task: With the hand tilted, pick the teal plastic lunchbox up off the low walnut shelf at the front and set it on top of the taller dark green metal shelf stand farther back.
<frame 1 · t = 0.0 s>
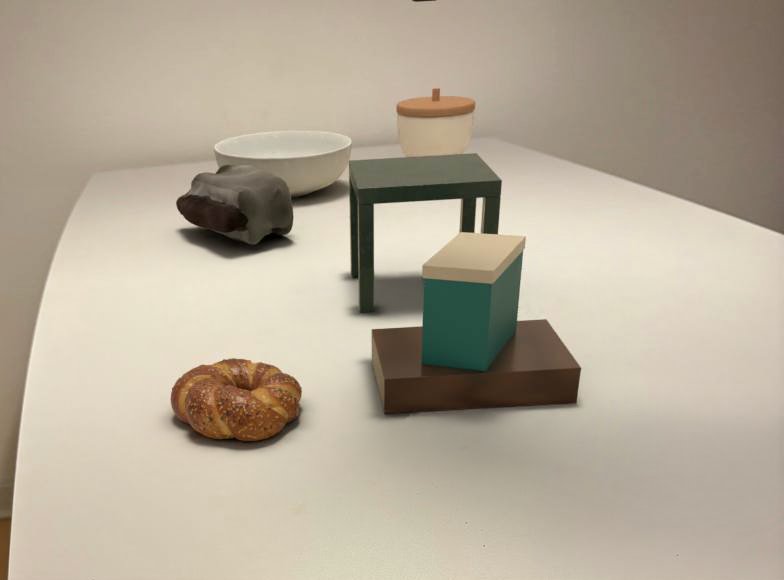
upper shelf: (418, 288, 105), on the table
lunchbox: (470, 347, 81), point 3 cm above the table, touching low shelf
lidded bowl: (433, 165, 157), on the table
serving bowl: (285, 193, 146), on the table
rock: (235, 239, 126), on the table
pretzel: (240, 419, 79), on the table
low shelf: (468, 380, 83), on the table
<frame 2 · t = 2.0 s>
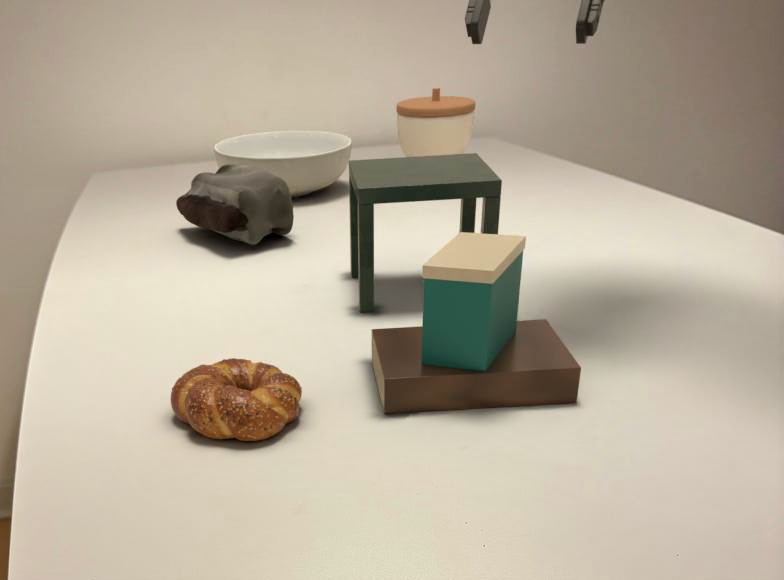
hand: (527, 36, 76), 25 cm above the table, tool tilted 45°, fingers open, 8 cm apart
nothing on the table moved.
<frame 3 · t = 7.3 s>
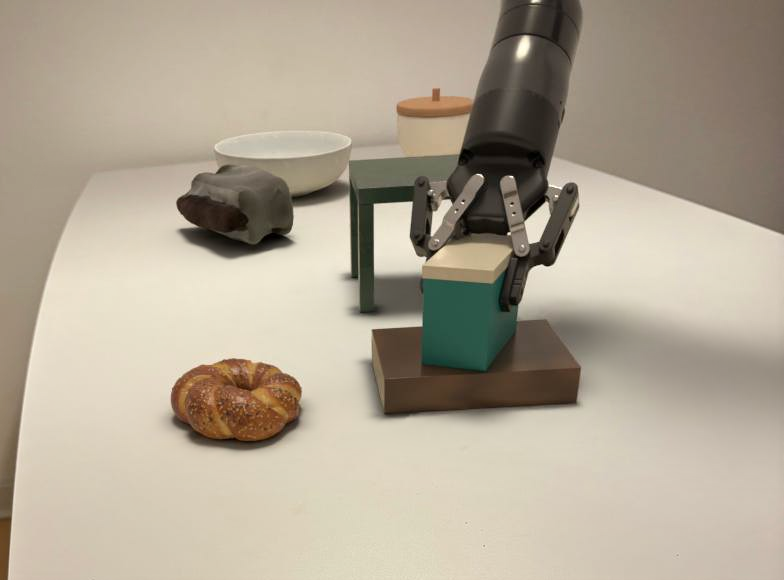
hand: (467, 303, 77), 7 cm above the table, tool tilted 45°, fingers closed on lunchbox, 5 cm apart
lunchbox: (470, 347, 81), point 3 cm above the table, touching gripper, low shelf
everything else where it was.
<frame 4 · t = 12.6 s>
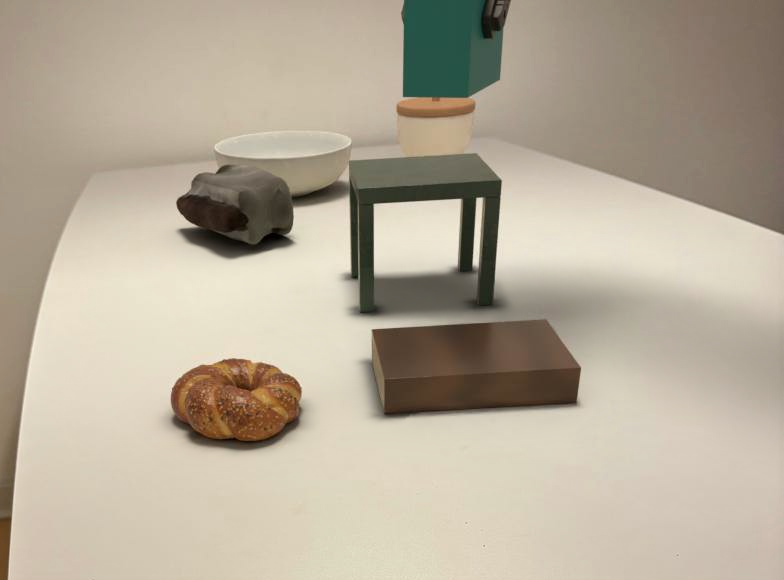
hand: (449, 30, 76), 25 cm above the table, tool tilted 45°, fingers closed on lunchbox, 5 cm apart
lunchbox: (452, 88, 80), point 21 cm above the table, touching gripper
everything else where it was.
when the fingers open (16 cm above the table, at t = 18.0 s): lunchbox stays where it is, resting on upper shelf.
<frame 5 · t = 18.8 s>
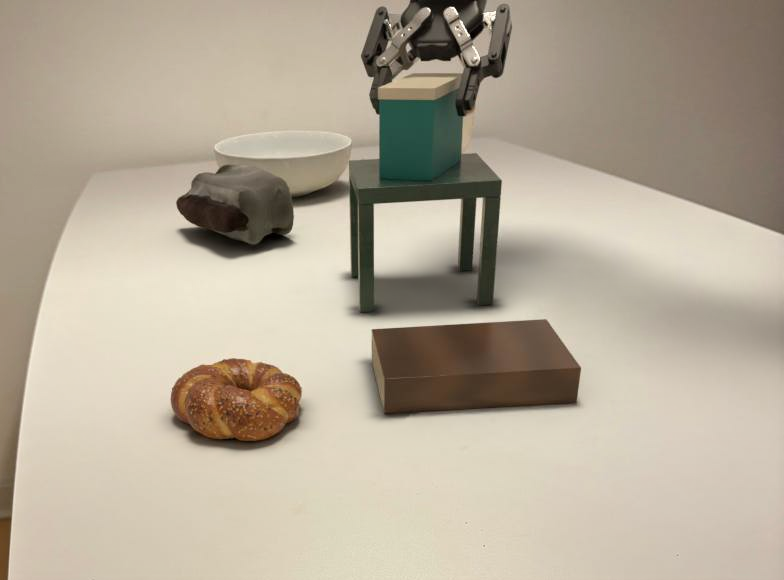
hand: (418, 110, 93), 18 cm above the table, tool tilted 45°, fingers open, 8 cm apart
lunchbox: (421, 169, 97), point 12 cm above the table, touching upper shelf
everything else where it was.
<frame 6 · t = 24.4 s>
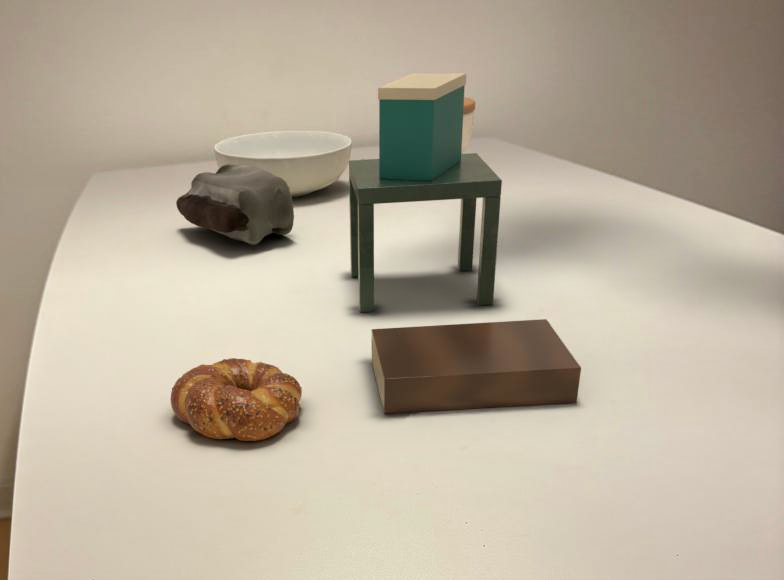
nothing on the table moved.
at the end: lunchbox inside the target area on the upper shelf (0.1 cm from its centre), point 12.0 cm above the upper shelf's base; lunchbox tilted 0°; the gripper is holding nothing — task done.
